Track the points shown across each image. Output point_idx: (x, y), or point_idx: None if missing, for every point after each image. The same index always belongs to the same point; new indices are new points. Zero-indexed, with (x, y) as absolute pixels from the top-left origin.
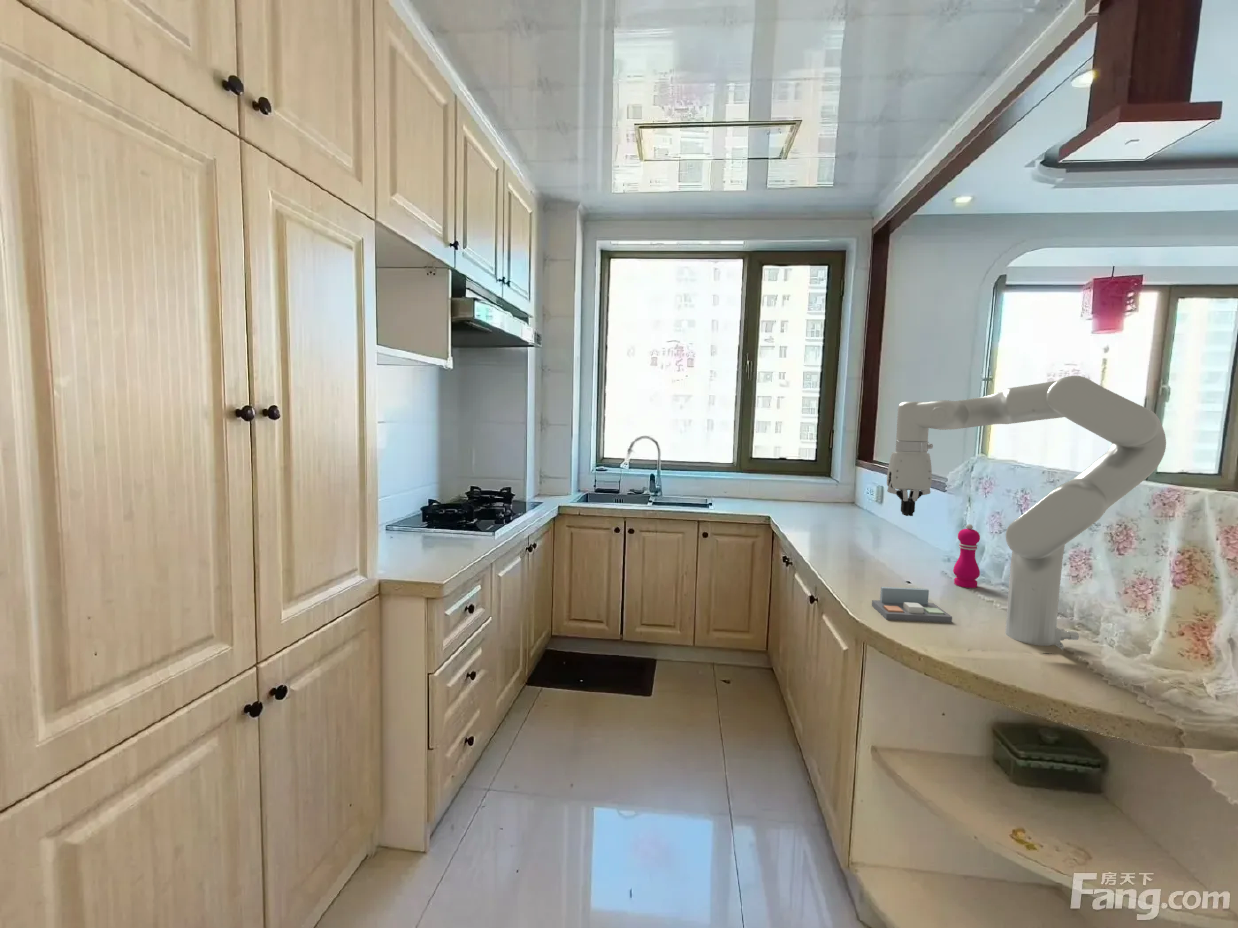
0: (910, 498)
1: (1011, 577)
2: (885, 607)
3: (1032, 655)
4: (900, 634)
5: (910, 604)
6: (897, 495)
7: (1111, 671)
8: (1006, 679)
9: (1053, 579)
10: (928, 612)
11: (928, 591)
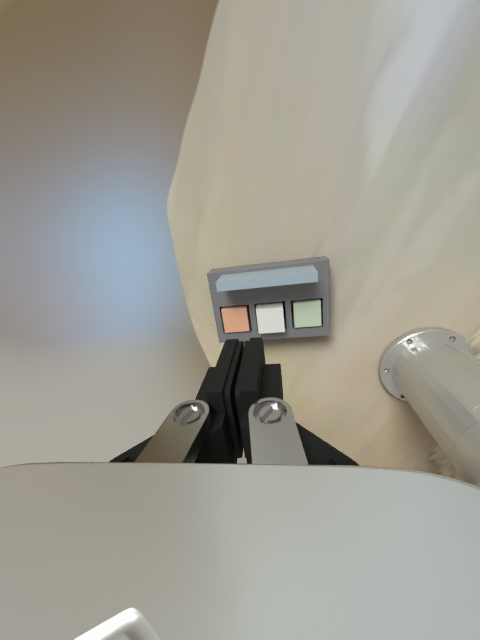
0: (249, 458)
1: (452, 445)
2: (222, 317)
3: (393, 403)
4: None
5: (265, 319)
6: (139, 454)
7: None
8: None
9: None
10: (294, 323)
11: (317, 280)
